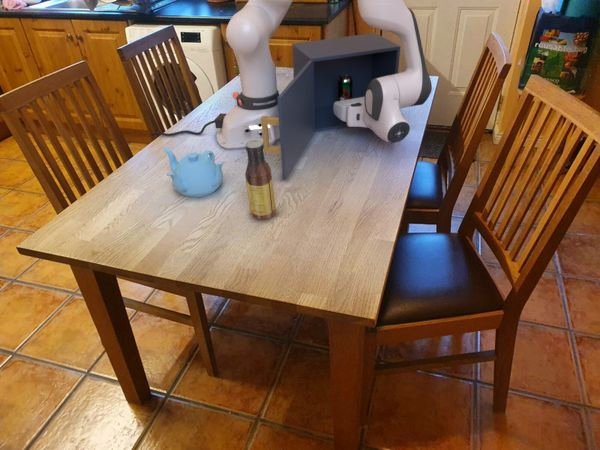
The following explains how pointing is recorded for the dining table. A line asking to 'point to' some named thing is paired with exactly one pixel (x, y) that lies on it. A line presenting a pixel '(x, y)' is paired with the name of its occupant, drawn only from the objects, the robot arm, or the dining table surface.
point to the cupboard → (343, 69)
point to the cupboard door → (293, 120)
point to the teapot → (195, 173)
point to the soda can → (345, 87)
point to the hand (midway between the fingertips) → (355, 97)
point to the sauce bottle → (259, 182)
